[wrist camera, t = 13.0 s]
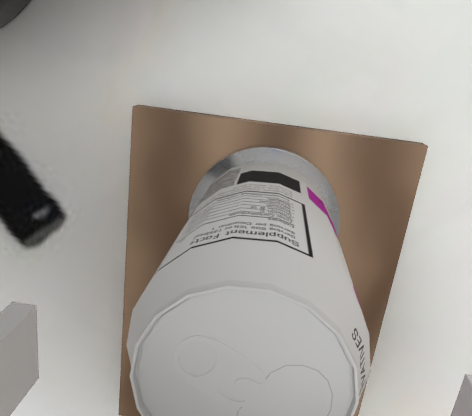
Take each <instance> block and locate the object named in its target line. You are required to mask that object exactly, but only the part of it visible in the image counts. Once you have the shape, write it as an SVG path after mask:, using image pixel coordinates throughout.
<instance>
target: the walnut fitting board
mask: <svg viewBox="0 0 472 416" xmlns="http://www.w3.org/2000/svg"><path fill="white" fill-rule="evenodd" d="M252 146H276V147H281V148H285V149H288V150H291V151H294V152H296V153H298V154H300V155H302V156H304V157H305V158H306V159H308V160H309V161H311V162H312V163H313V164H314V165H315V166H317V167H318V168H319V169H320V171H321V172H322V173H323V174H324V175H325V177H326V178H327V180H328V181H329V183H330V185H331V187H332V189H333V191H334V194H335V196H336V199H337V202H338V206H339V212H340V231H339V236H338V240H339V243H340V246H341V249H342V252H343V255H344V258H345V261H346V264H347V268H348V271H349V274H350V277H351V280H352V283H353V286H354V289H355V292H356V295H357V298H358V301H359V304H360V307H361V310H362V313H363V316H364V319H365V323H366V326H367V329H368V332H369V343H370V367H371V364H372V360H373V356H374V352H375V348H376V344H377V340H378V337H379V333H380V329H381V325H382V321H383V317H384V313H385V310H386V306H387V302H388V298H389V294H390V290H391V287H392V283H393V279H394V275H395V271H396V267H397V263H398V260H399V256H400V252H401V248H402V244H403V240H404V237H405V233H406V229H407V225H408V221H409V217H410V213H411V210H412V206H413V202H414V198H415V194H416V190H417V187H418V183H419V179H420V175H421V171H422V167H423V163H424V160H425V156H426V152H427V148H428V146H427V145H425V144H423V143H419V142H412V141H404V140H397V139H389V138H382V137H374V136H367V135H359V134H352V133H345V132H337V131H330V130H322V129H315V128H307V127H300V126H292V125H285V124H278V123H270V122H263V121H255V120H248V119H240V118H233V117H225V116H218V115H211V114H203V113H196V112H188V111H181V110H173V109H166V108H158V107H151V106H144V105H136V106H133V111H132V133H131V155H130V177H129V199H128V221H127V244H126V266H125V288H124V310H123V332H122V354H121V376H120V399H119V415H121V416H141V414H140V413H139V411H138V410H137V407H136V403H135V398H134V394H133V389H132V385H131V381H130V371H131V364H130V359H129V355H128V350H127V346H126V344H127V338H128V333H129V327H130V322H131V316H132V310H133V308H134V307H135V305H136V303H137V302H138V300H139V298H140V297H141V295H142V294H143V292H144V290H145V289H146V287H147V285H148V284H149V282H150V281H151V279H152V277H153V276H154V274H155V273H156V271H157V269H158V268H159V266H160V264H161V263H162V261H163V260H164V258H165V256H166V255H167V253H168V252H169V250H170V248H171V247H172V245H173V243H174V242H175V240H176V239H177V237H178V235H179V234H180V232H181V230H182V229H183V227H184V226H185V224H186V222H187V221H188V219H189V208H190V202H191V199H192V196H193V193H194V191H195V189H196V187H197V185H198V184H199V182H200V180H201V179H202V177H203V176H204V175H205V173H206V172H207V171H208V170H209V169H210V168H211V167H212V166H213V165H214V164H215V163H216V162H217V161H219V160H220V159H222V158H223V157H225V156H226V155H228V154H230V153H232V152H234V151H237V150H240V149H243V148H247V147H252ZM366 383H367V382H366ZM365 387H366V384H365ZM365 387H364V389H363V392H362V394H361V397H360V399H359V404H358V406H357V409H356V411H355V414H354V416H358V414H359V410H360V406H361V402H362V398H363V394H364V390H365Z"/></svg>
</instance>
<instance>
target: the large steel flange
mask: <svg viewBox="0 0 472 416" xmlns="http://www.w3.org/2000/svg"><path fill="white" fill-rule="evenodd" d="M254 161H257V162H270V163H280V164H282V165H285V166H287V167H289V168H291V169H294V170H296V171H298V172H300V173H302V174H303V175H304V176H305V177H306V178H307V179H308V180H310V181H311V182H312V183H313V184H314V185H315V186H316V187H317V188H318V189H319V191H320V193H321V195H322V197H323V199H324V201H325V203H326V206H327V208H328V210H329V212H330V216H331V219H332V222H333V225H334V228H335V231H336V234H337V237H338V236H339V231H340V212H339V206H338V202H337V199H336V196H335V194H334V191H333V189H332V187H331V185H330V183H329V181H328V180H327V178H326V177H325V175H324V174H323V173H322V172H321V171H320V169H319V168H318V167H317V166H315V165H314V164H313V163H312V162H311V161H309V160H308V159H306V158H305V157H304V156H302V155H300V154H298V153H296V152H294V151H291V150H288V149H285V148H281V147H276V146H252V147H247V148H243V149H240V150H237V151H234V152H232V153H230V154H228V155H226V156H225V157H223V158H222V159H220V160H219V161H217V162H216V163H215V164H214V165H213V166H212V167H211V168H210V169H209V170H208V171H207V172H206V173H205V175H204V176H203V177H202V179H201V180H200V182H199V184H198V185H197V187H196V189H195V191H194V193H193V196H192V199H191V202H190V208H189V218H190V216H191V214H192V213H193V211H194V209H195V208H196V206H197V205H198V203H199V201H200V200H201V198H202V197H203V195H204V194H205V192H206V191H207V189H208V188H209V186H210V185H211V183H212V182H213V181H214V180H215V179H217V178H218V177H220V176H221V175H222V174H224V173H225V172H226V171H228V170H229V169H231V168H233V167H236V166H240V165H244V164H247V163H251V162H254Z"/></svg>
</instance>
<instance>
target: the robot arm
mask: <svg viewBox="0 0 472 416" xmlns="http://www.w3.org/2000/svg"><path fill="white" fill-rule="evenodd" d="M29 1H30V0H0V28H1V27H2V26H4V25H5V24H7V23H8V22H9V21H11V20H12V19H13V18H14V17H15V16H17V15H18V14H19V13H20V11H21V10H22V9H23V8H24V7H25V6H26V5H27V3H28V2H29ZM38 378H39V370H38V341H37V312H36V305H29V304H23V303H17V302H12V303H11V304H10V305H8V306H7V307H6V308H5V309H4V310H3V311H2V312H1V313H0V416H10V415H11V414H12V412H13V411H14V410H15V408H16V407H17V406H18V404H19V403H20V402H21V400H22V399H23V398H24V396H25V395H26V394H27V393H28V391H29V390H30V389H31V387H32V386H33V385H34V383H35V382H36V381H37V379H38ZM451 416H472V375H468V374H465V377H464V380H463V383H462V385H461V388H460V391H459V394H458V397H457V400H456V402H455V405H454V408H453V411H452V414H451Z"/></svg>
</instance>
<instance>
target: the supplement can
mask: <svg viewBox="0 0 472 416" xmlns="http://www.w3.org/2000/svg"><path fill="white" fill-rule="evenodd" d="M126 346H127V350H128V355H129V359H130V364H131V371H130V381H131V385H132V389H133V394H134V398H135V403H136V407H137V410H138V411H139V413H140V414H141V416H354V414H355V411H356V409H357V406H358V404H359V399H360V397H361V394H362V392H363V389H364V387H365V384H366V382H367V379H368V377H369V374H370V372H371V370H370V343H369V332H368V329H367V326H366V323H365V319H364V316H363V313H362V310H361V307H360V304H359V301H358V298H357V295H356V292H355V289H354V286H353V283H352V280H351V277H350V274H349V271H348V268H347V264H346V261H345V258H344V255H343V252H342V249H341V246H340V243H339V240H338V237H337V234H336V231H335V228H334V225H333V222H332V219H331V216H330V212H329V210H328V208H327V206H326V203H325V201H324V199H323V197H322V195H321V193H320V191H319V189H318V188H317V187H316V186H315V185H314V184H313V183H312V182H311V181H310V180H308V179H307V178H306V177H305V176H304V175H303V174H302V173H300V172H298V171H296V170H294V169H291V168H289V167H287V166H285V165H282V164H280V163H270V162H257V161H254V162H251V163H247V164H244V165H240V166H236V167H233V168H231V169H229V170H228V171H226V172H225V173H224V174H222V175H221V176H220V177H218V178H217V179H215V180H214V181H213V182H212V183H211V185H210V186H209V188H208V189H207V191H206V192H205V194H204V195H203V197H202V198H201V200H200V201H199V203H198V205H197V206H196V208H195V209H194V211H193V213H192V214H191V216H190V218H189V219H188V221H187V222H186V224H185V226H184V227H183V229H182V230H181V232H180V234H179V235H178V237H177V239H176V240H175V242H174V243H173V245H172V247H171V248H170V250H169V252H168V253H167V255H166V256H165V258H164V260H163V261H162V263H161V264H160V266H159V268H158V269H157V271H156V273H155V274H154V276H153V277H152V279H151V281H150V282H149V284H148V285H147V287H146V289H145V290H144V292H143V294H142V295H141V297H140V298H139V300H138V302H137V303H136V305H135V307H134V308H133V310H132V316H131V322H130V327H129V333H128V338H127V344H126Z"/></svg>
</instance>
